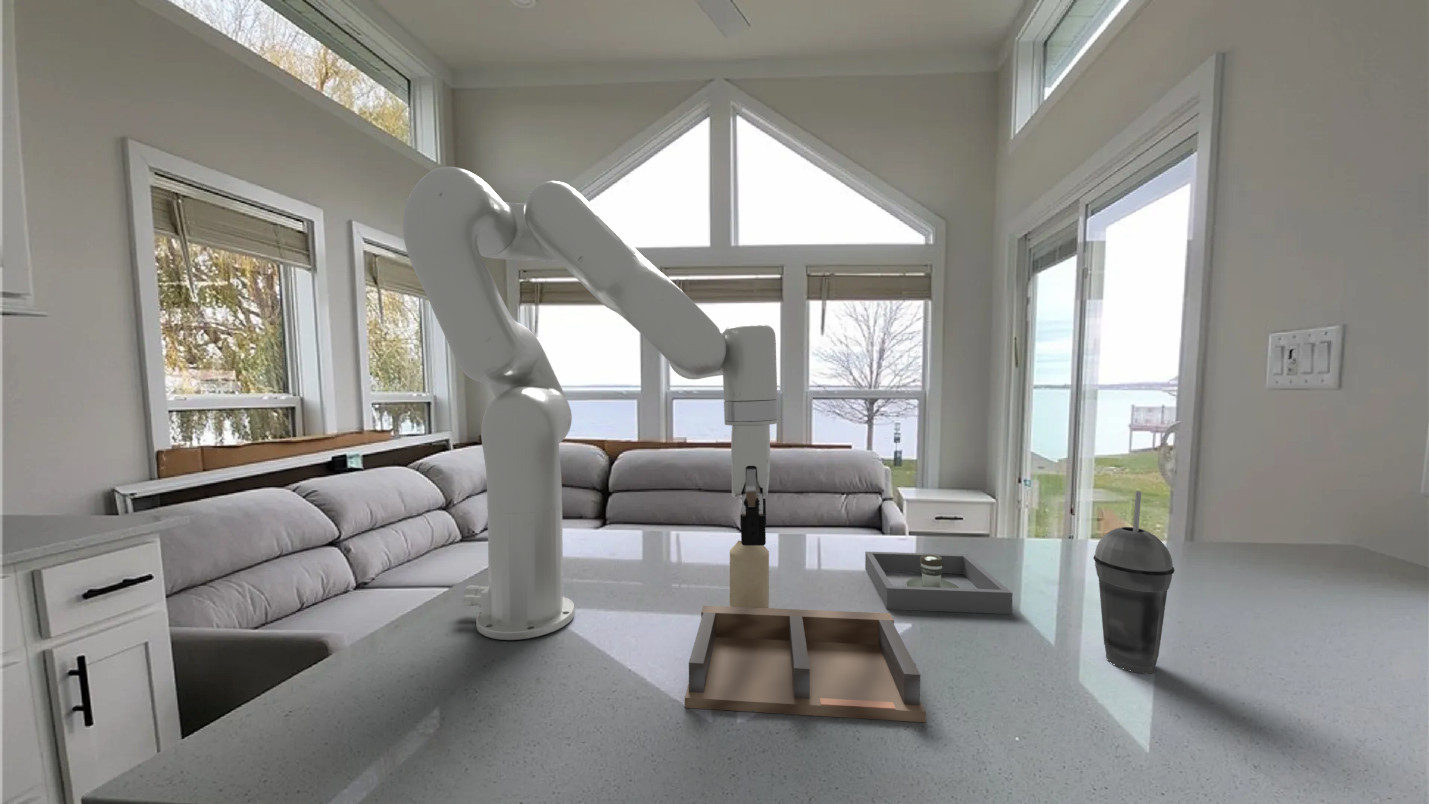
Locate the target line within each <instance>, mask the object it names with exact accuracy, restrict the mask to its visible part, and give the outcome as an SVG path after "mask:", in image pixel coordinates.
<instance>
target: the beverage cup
mask: <svg viewBox="0 0 1429 804" xmlns="http://www.w3.org/2000/svg"><path fill="white" fill-rule="evenodd" d="M1134 498H1135V499H1134V510H1133V511H1134V513H1133V526H1122V527H1117V528H1114V529H1111V530H1110V531H1108V532H1107V533H1105V535H1103V536H1102V537H1101V538H1100V540H1099V541H1098V543H1097V545H1096V548H1095V552H1094V555H1093V560H1094V566H1095V571H1096V576H1097V578H1098V585H1099V586H1098V587H1099V598H1100V610H1101V611H1100V612H1101V622H1102V634H1103V635H1102V637H1103V645H1104V648H1105V649H1104V650H1105V651H1104V652H1105V659H1106V658H1107V659H1108V660H1107V659H1106V660H1107V662H1109V661H1110V662H1111V663H1112V664H1111V663H1110V662H1109V663H1110V664H1111V665H1113V664H1115V665H1114V666H1115V667H1117V666H1118V667H1117V668H1119V667H1121V668H1124V669H1126V670H1125V671H1127V670H1131V671H1133V672H1132V673H1135V672H1137V673H1136V674H1143V673H1149V674H1153V673H1155V672H1156V670H1157V663H1158V658H1159V654H1160V648H1161V647H1160V646H1161V640H1162V632H1163V625H1164V618H1165V611H1166V603H1167V597H1168V596H1167V595H1168V590H1169V588H1170V587H1171V586H1170V585H1171V582H1172V578H1173V574H1174V572H1175V567H1174V566H1173V565H1174V564H1173V559H1172V556H1171V553H1170V551H1169V549H1168V548H1167V547H1166V545H1165V544H1164V543H1163V542H1162V540H1161V539H1160V538H1159V537H1157V536H1156V535H1154V534H1153V533H1151V532H1150V531H1148V530H1145V529H1143V528H1139V527H1140V516H1141V515H1140V513H1141V503H1142V502H1141V501H1142V492H1141V491H1139V490H1138V491H1137V490H1135V497H1134ZM1121 668H1120V669H1121ZM1124 669H1123V670H1124ZM1131 671H1130V672H1131Z"/></svg>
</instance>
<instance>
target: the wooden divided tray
mask: <svg viewBox="0 0 1429 804" xmlns="http://www.w3.org/2000/svg"><path fill="white" fill-rule="evenodd" d="M700 613H701V614H700V616H701V617H700V618H701V619H700V623H699V626H698V630H697V633H696V636H695V640H694V644H693V647H692V650H691V654H690V658H689V660H688V685H687V689H686V692H685V696H684V709H685V708H687V709H702V710H717V711H718V710H719V711H732V712H733V711H734V712H735V711H736V712H749V713H753V712H752V711H755V712H754V713H765V714H766V713H769V714H785V715H797V716H798V715H800V716H814V717H815V716H817V717H819V716H820V717H830V718H831V717H833V718H848V719H850V718H852V719H867V720H880V721H881V720H883V721H898V722H899V721H901V722H914V723H915V722H917V723H926V720H927V718H926V715H927V714H926V713H927V712H926V710H925V707H924V705H923V703H922V701H921V674H920V671H919V669H918V668H917V665H916V663H915V662H914V659H913V658H912V656H911V655H910V652H909V651H908V648H907V647H906V645H905V643H904V642H903V640H902V638H901V635H900V634H899V631H898V630H897V628H896V625H895V620H894V618H893V616H892V613H890V612H870V611H869V612H866V611H865V612H864V611H844V610H840V611H839V610H821V609H820V610H817V609H795V608H793V609H792V608H790V609H789V608H774V607H773V608H749V607H730V606H725V605H723V606H721V605H720V606H719V605H718V606H717V605H702V609H701V611H700Z"/></svg>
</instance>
